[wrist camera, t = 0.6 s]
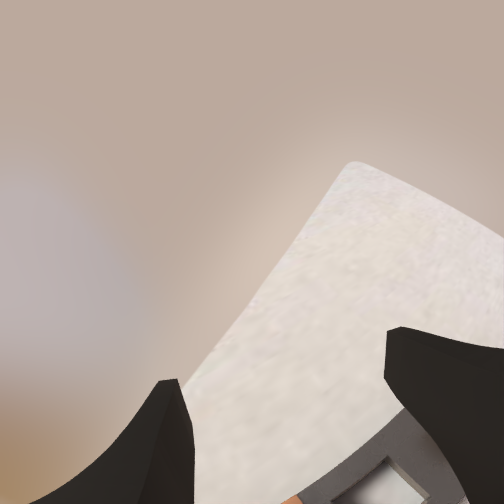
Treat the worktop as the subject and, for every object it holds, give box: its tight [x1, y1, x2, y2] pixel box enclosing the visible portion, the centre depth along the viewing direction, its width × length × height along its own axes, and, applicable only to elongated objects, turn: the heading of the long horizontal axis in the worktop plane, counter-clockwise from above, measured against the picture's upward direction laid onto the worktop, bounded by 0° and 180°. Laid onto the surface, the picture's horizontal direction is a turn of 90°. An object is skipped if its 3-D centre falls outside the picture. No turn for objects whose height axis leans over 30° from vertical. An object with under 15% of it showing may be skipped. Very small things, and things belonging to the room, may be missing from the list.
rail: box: [281, 408, 465, 504], centre depth 16 cm, size 9×27×3 cm, turn 122°
